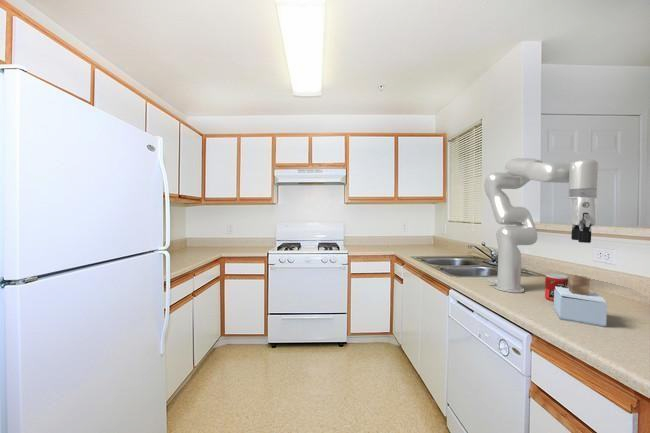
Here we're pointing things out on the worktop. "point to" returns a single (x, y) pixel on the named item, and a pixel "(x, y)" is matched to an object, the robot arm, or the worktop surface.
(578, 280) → the block
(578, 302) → the carton
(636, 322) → the worktop surface
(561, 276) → the canned food
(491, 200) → the robot arm
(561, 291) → the flap
